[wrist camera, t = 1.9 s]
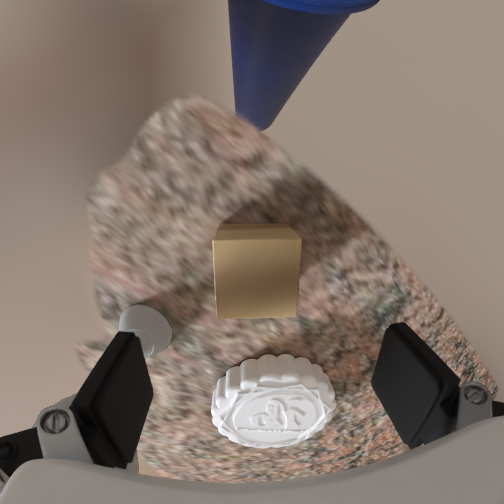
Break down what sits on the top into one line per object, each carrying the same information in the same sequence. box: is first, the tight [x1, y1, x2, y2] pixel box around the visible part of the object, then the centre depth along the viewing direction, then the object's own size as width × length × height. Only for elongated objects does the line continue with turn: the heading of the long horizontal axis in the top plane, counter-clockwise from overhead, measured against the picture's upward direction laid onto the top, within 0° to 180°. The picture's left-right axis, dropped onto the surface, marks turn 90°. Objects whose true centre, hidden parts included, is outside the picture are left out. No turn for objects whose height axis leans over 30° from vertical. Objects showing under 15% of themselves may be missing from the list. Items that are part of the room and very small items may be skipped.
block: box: [212, 223, 302, 319], centre depth 18 cm, size 5×5×5 cm
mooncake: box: [211, 354, 337, 448], centre depth 23 cm, size 12×12×4 cm
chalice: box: [32, 305, 172, 474], centre depth 13 cm, size 7×7×18 cm
